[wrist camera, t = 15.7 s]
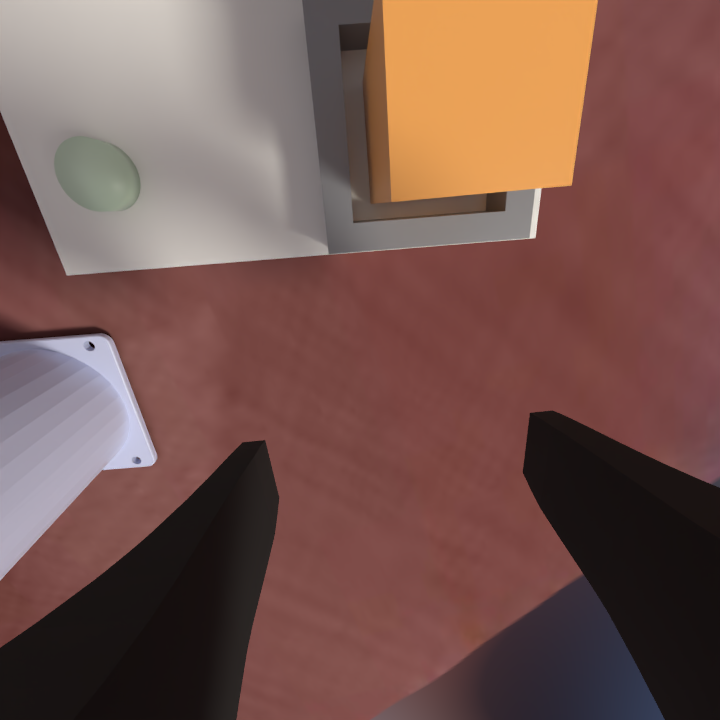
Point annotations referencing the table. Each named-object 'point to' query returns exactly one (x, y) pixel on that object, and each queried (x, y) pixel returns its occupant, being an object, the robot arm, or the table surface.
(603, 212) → the table surface
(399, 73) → the orange rectangular block
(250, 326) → the table surface
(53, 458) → the robot arm
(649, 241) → the table surface
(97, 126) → the panel
